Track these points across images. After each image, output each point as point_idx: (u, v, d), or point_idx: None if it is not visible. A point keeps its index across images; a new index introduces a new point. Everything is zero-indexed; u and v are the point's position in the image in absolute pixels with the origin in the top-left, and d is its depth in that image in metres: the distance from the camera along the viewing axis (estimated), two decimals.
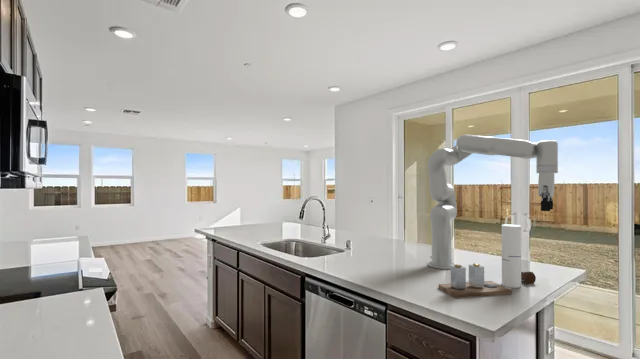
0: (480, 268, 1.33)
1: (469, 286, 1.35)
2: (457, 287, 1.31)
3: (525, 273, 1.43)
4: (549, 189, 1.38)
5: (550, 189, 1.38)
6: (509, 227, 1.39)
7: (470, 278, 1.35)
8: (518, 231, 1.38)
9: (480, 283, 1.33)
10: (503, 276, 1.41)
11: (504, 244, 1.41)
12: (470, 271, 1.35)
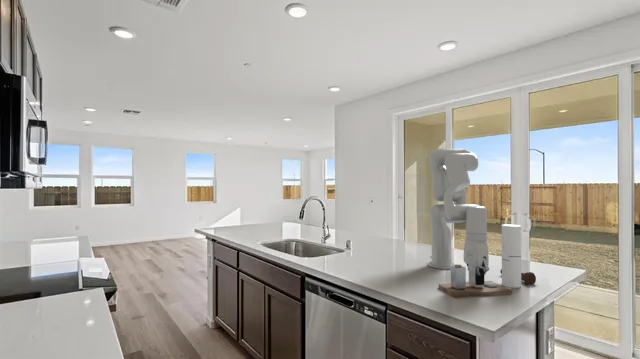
0: (480, 268, 1.33)
1: (469, 286, 1.35)
2: (457, 287, 1.31)
3: (526, 274, 1.42)
4: (487, 260, 1.30)
5: (488, 260, 1.30)
6: (509, 227, 1.39)
7: (470, 278, 1.35)
8: (518, 231, 1.38)
9: None
10: (503, 276, 1.41)
11: (504, 244, 1.41)
12: (470, 271, 1.35)
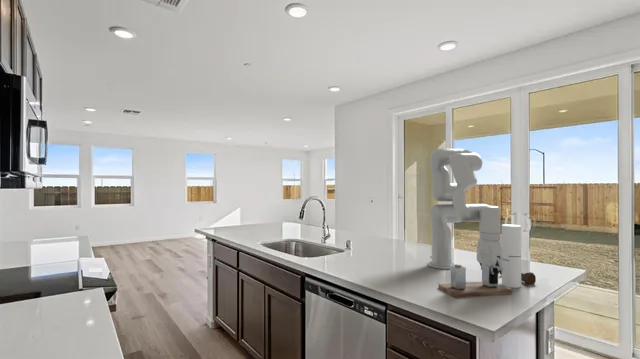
0: None
1: (469, 286, 1.35)
2: (457, 287, 1.31)
3: (526, 274, 1.41)
4: (501, 259, 1.31)
5: None
6: (509, 227, 1.39)
7: (483, 277, 1.36)
8: (518, 231, 1.38)
9: None
10: (503, 276, 1.41)
11: (504, 244, 1.41)
12: (483, 270, 1.36)
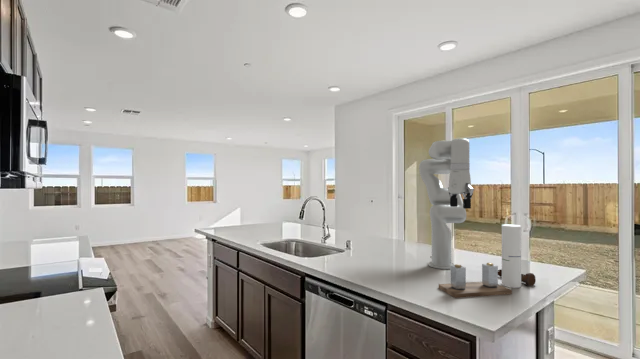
0: (494, 267, 1.34)
1: (469, 286, 1.35)
2: (457, 287, 1.31)
3: (527, 275, 1.40)
4: None
5: None
6: (509, 227, 1.39)
7: (483, 277, 1.36)
8: (518, 231, 1.38)
9: (494, 282, 1.34)
10: (503, 276, 1.41)
11: (504, 244, 1.41)
12: (483, 270, 1.36)
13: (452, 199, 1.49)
